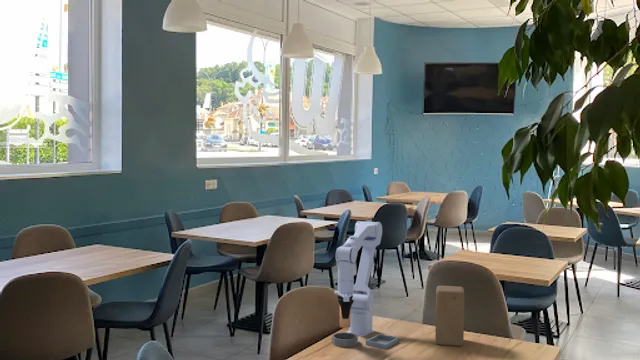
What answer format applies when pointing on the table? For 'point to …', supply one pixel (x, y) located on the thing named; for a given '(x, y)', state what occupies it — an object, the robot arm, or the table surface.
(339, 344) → the grey round bowl
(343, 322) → the dowel
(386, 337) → the tray
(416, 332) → the table surface
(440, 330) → the wooden block
